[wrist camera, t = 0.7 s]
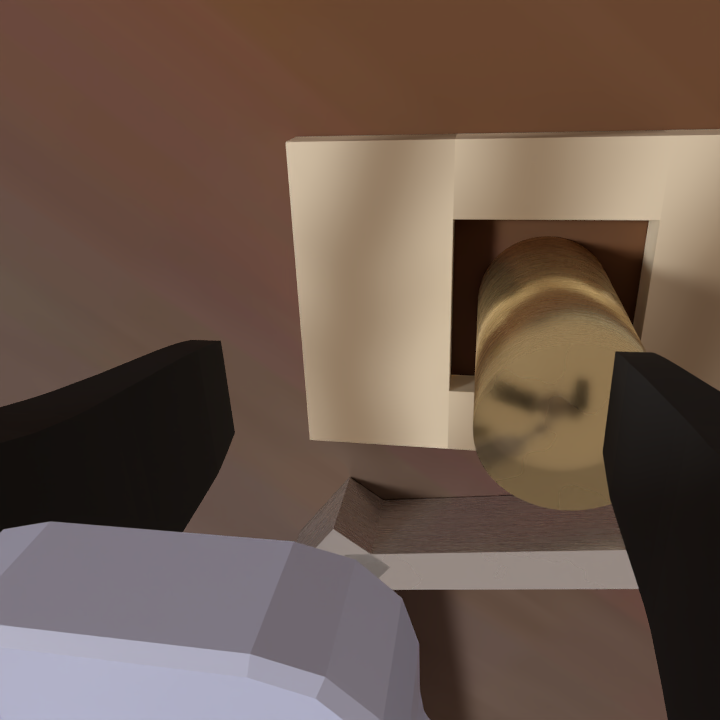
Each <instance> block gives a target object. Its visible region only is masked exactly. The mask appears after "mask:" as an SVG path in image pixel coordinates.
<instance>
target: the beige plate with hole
mask: <svg viewBox="0 0 720 720" xmlns="http://www.w3.org/2000/svg"><path fill="white" fill-rule="evenodd" d="M286 153H287V165H288V177H289V189H290V202H291V214H292V226H293V238H294V250H295V263H296V275H297V287H298V299H299V311H300V324H301V336H302V348H303V360H304V372H305V385H306V397H307V409H308V421H309V434H310V440H322V441H337V442H353V443H369V444H384V445H400V446H415V447H431V448H446V449H462V450H476V448H475V444H474V439H473V411H474V387H475V376H470V375H451V353H452V313H453V273H454V232H455V219H493V220H649V224H648V230H647V237H646V244H645V250H644V257H643V263H642V270H641V276H640V283H639V290H638V296H637V303H636V309H635V316H634V322H633V327H634V329H635V331H636V333H637V335H638V337H639V339H640V341H641V343H642V345H643V346H644V348H645V350H646V352H653V353H656V354H658V355H660V356H662V357H664V358H666V359H668V360H670V361H671V362H673V363H675V364H676V365H678V366H680V367H681V368H683V369H685V370H686V371H688V372H689V373H691V374H693V375H694V376H696V377H698V378H699V379H701V380H702V381H704V382H706V383H707V384H709V385H710V386H712V387H714V388H715V389H717V390H719V391H720V129H701V130H645V131H589V132H534V133H478V134H422V135H366V136H310V137H295V138H293V139H291V140H289V141H287V142H286Z"/></svg>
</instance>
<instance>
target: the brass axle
mask: <svg viewBox="0 0 720 720" xmlns="http://www.w3.org/2000/svg"><path fill="white" fill-rule="evenodd" d="M615 351H619V352H646V350H645V348H644V346H643V345H642V343H641V341H640V339H639V337H638V335H637V333H636V331H635V329H634V327H633V325H632V323H631V321H630V319H629V317H628V315H627V313H626V311H625V309H624V307H623V305H622V303H621V301H620V299H619V298H618V296H617V294H616V292H615V290H614V288H613V286H612V284H611V282H610V280H609V278H608V276H607V274H606V272H605V270H604V268H603V267H602V265H601V263H600V262H599V261H598V259H597V258H596V257H595V256H594V255H593V254H592V253H591V252H590V251H589V250H587V249H586V248H585V247H583V246H582V245H580V244H578V243H576V242H573V241H571V240H568V239H564V238H559V237H549V236H547V237H536V238H530V239H527V240H524V241H521V242H519V243H516V244H514V245H512V246H511V247H509V248H507V249H506V250H504V251H503V252H502V253H501V254H499V255H498V256H497V257H496V258H495V259H494V260H493V262H492V263H491V264H490V266H489V267H488V268H487V270H486V272H485V274H484V276H483V278H482V281H481V284H480V288H479V294H478V313H477V337H476V362H475V387H474V411H473V439H474V444H475V448H476V451H477V454H478V457H479V459H480V461H481V463H482V465H483V467H484V468H485V469H486V471H487V472H488V474H489V475H490V476H491V477H492V478H493V479H494V480H495V481H496V483H497V484H499V485H500V486H501V487H502V488H504V489H505V490H506V491H508V492H509V493H511V494H512V495H514V496H515V497H517V498H519V499H522V500H524V501H526V502H528V503H531V504H534V505H537V506H540V507H545V508H549V509H556V510H572V511H575V510H587V509H593V508H598V507H602V506H606V505H609V504H611V501H610V496H609V491H608V485H607V479H606V472H605V466H604V459H603V444H604V436H605V428H606V421H607V413H608V405H609V397H610V389H611V382H612V374H613V366H614V358H615Z"/></svg>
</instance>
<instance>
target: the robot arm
mask: <svg viewBox="0 0 720 720" xmlns="http://www.w3.org/2000/svg"><path fill="white" fill-rule="evenodd" d="M234 433H235V431H234V424H233V418H232V411H231V405H230V398H229V392H228V385H227V379H226V372H225V365H224V359H223V352H222V346H221V341H207V340H189V341H184V342H180V343H177V344H174V345H171V346H168V347H165V348H162V349H160V350H157V351H154V352H152V353H149V354H147V355H144V356H142V357H140V358H137V359H135V360H132V361H130V362H127V363H125V364H122V365H120V366H118V367H115V368H113V369H110V370H108V371H105V372H103V373H100V374H98V375H95V376H92V377H90V378H87V379H84V380H82V381H79V382H76V383H74V384H71V385H68V386H66V387H63V388H60V389H58V390H55V391H52V392H49V393H46V394H43V395H40V396H37V397H34V398H31V399H28V400H24V401H21V402H17V403H14V404H10V405H7V406H3V407H0V720H431V719H429V718H428V716H427V715H426V713H425V712H424V708H423V703H422V698H421V693H420V664H419V642H418V639H417V637H416V634H415V631H414V629H413V626H412V623H411V621H410V618H409V615H408V613H407V610H406V607H405V605H404V602H403V599H402V598H401V597H400V596H399V595H398V594H397V593H395V592H394V591H393V590H392V589H391V588H389V587H388V586H387V585H386V584H385V583H383V582H382V581H381V580H380V579H378V578H377V577H376V576H375V575H374V574H372V573H371V572H370V571H369V570H368V569H366V568H365V567H364V566H363V565H362V564H360V563H359V562H358V561H357V560H355V559H352V558H348V557H345V556H342V555H338V554H335V553H331V552H328V551H325V550H321V549H318V548H314V547H311V546H308V545H304V544H301V543H297V542H293V541H281V540H269V539H257V538H245V537H233V536H221V535H209V534H197V533H185V532H183V531H184V529H185V527H186V526H187V524H188V523H189V521H190V519H191V518H192V516H193V514H194V513H195V511H196V510H197V508H198V506H199V505H200V503H201V501H202V500H203V498H204V496H205V495H206V493H207V491H208V490H209V488H210V486H211V485H212V483H213V481H214V480H215V478H216V476H217V474H218V473H219V470H220V468H221V466H222V463H223V461H224V459H225V456H226V454H227V451H228V449H229V446H230V444H231V441H232V438H233V436H234ZM603 459H604V466H605V472H606V479H607V485H608V491H609V496H610V501H611V504H612V507H613V510H614V514H615V517H616V520H617V523H618V526H619V529H620V533H621V536H622V539H623V542H624V545H625V548H626V551H627V554H628V557H629V560H630V563H631V566H632V569H633V573H634V576H635V579H636V582H637V585H638V588H639V591H640V594H641V597H642V600H643V603H644V607H645V611H646V614H647V618H648V622H649V625H650V629H651V634H652V639H653V644H654V649H655V654H656V659H657V664H658V669H659V674H660V679H661V684H662V689H663V695H664V700H665V706H666V711H667V717H668V720H720V391H719V390H717V389H715V388H714V387H712V386H710V385H709V384H707V383H706V382H704V381H702V380H701V379H699V378H698V377H696V376H694V375H693V374H691V373H689V372H688V371H686V370H685V369H683V368H681V367H680V366H678V365H676V364H675V363H673V362H671V361H670V360H668V359H666V358H664V357H662V356H660V355H658V354H656V353H653V352H619V351H615V358H614V366H613V374H612V382H611V389H610V397H609V405H608V413H607V421H606V428H605V436H604V444H603Z"/></svg>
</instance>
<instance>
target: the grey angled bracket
mask: <svg viewBox="0 0 720 720" xmlns="http://www.w3.org/2000/svg"><path fill="white" fill-rule="evenodd" d="M297 543H301V544H304V545H308V546H311V547H314V548H318V549H321V550H325V551H328V552H331V553H335V554H338V555H342V556H345V557H348V558H352V559H355V560H357V561H358V562H359V563H360V564H362V565H363V566H364V567H365V568H366V569H368V570H369V571H370V572H371V573H372V574H374V575H375V576H376V577H377V578H378V579H380V580H381V581H382V582H383V583H385V584H386V585H387V586H388V587H389V588H391V589H392V590H465V589H639V588H638V585H637V582H636V579H635V576H634V573H633V569H632V566H631V563H630V560H629V557H628V554H627V551H626V548H625V545H624V542H623V539H622V536H621V533H620V529H619V526H618V523H617V520H616V517H615V514H614V510H613V507H612V504H609V505H606V506H602V507H598V508H593V509H587V510H575V511H572V510H556V509H549V508H545V507H540V506H537V505H534V504H531V503H528V502H526V501H524V500H522V499H519V498H517V497H515V496H514V495H512V496H485V497H457V498H430V499H402V500H382V499H381V498H379V497H378V496H376V495H375V494H374V493H372V492H371V491H369V490H368V489H366V488H365V487H363V486H362V485H360V484H359V483H358V482H356V481H355V480H353V479H352V478H349V479H348V480H347V481H346V482H345V483H344V484H343V485H342V487H341V488H340V489H339V490H338V491H337V492H336V493H335V494H334V495H333V497H332V498H331V499H330V500H329V501H328V502H327V503H326V504H325V505H324V507H323V508H322V509H321V510H320V511H319V512H318V513H317V514H316V515H315V517H314V518H313V519H312V520H311V521H310V522H309V523H308V524H307V525H306V527H305V528H304V529H303V530H302V531H301V532H300V534H299V537H298V540H297Z"/></svg>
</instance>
